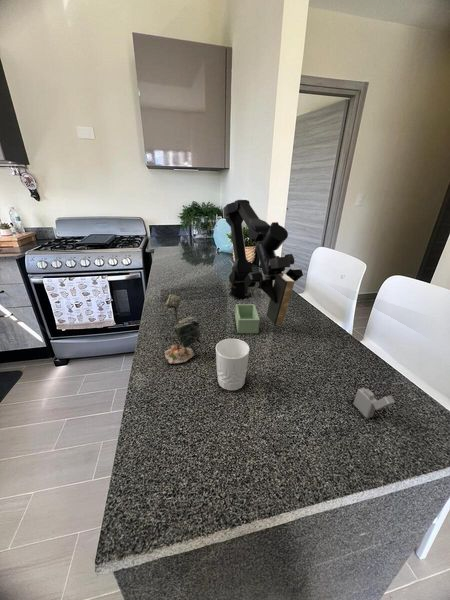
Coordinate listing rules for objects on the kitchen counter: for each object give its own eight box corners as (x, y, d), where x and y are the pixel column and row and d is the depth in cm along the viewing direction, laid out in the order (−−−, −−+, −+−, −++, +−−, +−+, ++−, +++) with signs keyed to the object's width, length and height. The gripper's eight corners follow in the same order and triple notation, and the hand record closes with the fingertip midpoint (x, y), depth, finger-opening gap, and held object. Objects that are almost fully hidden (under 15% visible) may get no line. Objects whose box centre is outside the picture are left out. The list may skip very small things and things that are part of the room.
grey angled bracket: (352, 403, 57) (361, 376, 53) (359, 401, 57) (368, 374, 54) (377, 430, 51) (389, 401, 47) (384, 428, 51) (396, 399, 48)
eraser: (274, 324, 79) (285, 281, 72) (266, 315, 84) (276, 273, 77) (282, 324, 80) (294, 281, 73) (274, 314, 85) (285, 273, 78)
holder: (235, 316, 93) (235, 304, 90) (253, 316, 93) (254, 304, 91) (237, 333, 82) (238, 319, 80) (258, 333, 82) (259, 319, 80)
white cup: (250, 374, 65) (253, 342, 60) (242, 396, 58) (244, 362, 54) (221, 367, 67) (222, 335, 63) (210, 387, 60) (210, 353, 56)
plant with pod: (205, 361, 69) (204, 295, 60) (163, 366, 67) (156, 298, 58) (201, 344, 76) (199, 283, 68) (163, 348, 74) (156, 285, 65)
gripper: (250, 246, 72) (264, 296, 67) (305, 243, 78) (321, 289, 73) (238, 264, 82) (250, 309, 78) (288, 260, 88) (301, 302, 83)
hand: (281, 302), depth 78 cm, fingers closed on eraser, 3 cm apart
